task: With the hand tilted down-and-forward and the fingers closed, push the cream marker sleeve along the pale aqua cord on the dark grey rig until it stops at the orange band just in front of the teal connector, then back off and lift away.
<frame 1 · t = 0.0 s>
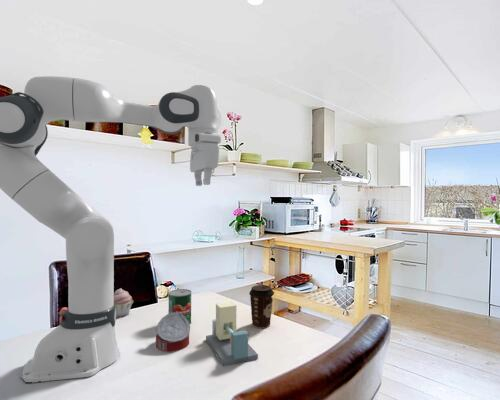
hand: (202, 185, 99), 48 cm above the table, tool pointing down, fingers open, 8 cm apart
canned tomato: (179, 324, 113), on the table
marker sleeve: (226, 320, 98), point 7 cm above the table, slide at 0.0 cm
cupcake: (120, 315, 121), on the table
canned food: (172, 345, 97), on the table
coffee cup: (261, 325, 112), on the table
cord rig: (230, 348, 94), on the table
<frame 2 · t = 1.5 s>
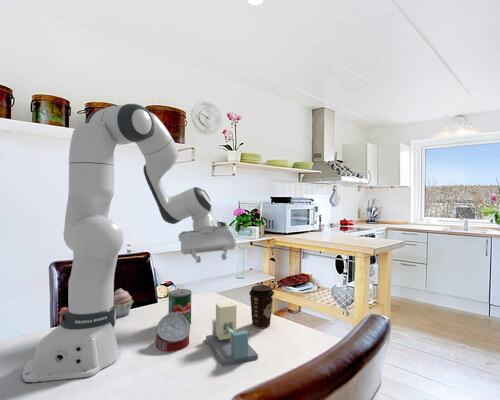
hand: (211, 260, 115), 22 cm above the table, tool tilted 45°, fingers open, 8 cm apart
nothing on the table moved.
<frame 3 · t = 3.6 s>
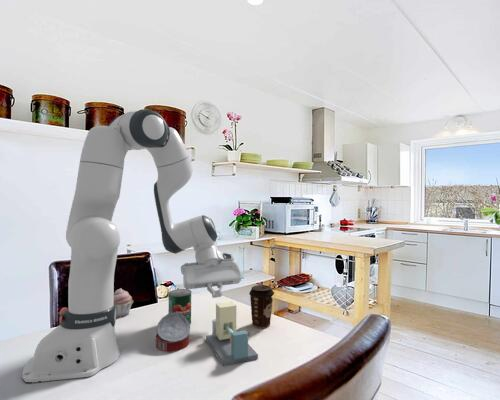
hand: (217, 296, 106), 11 cm above the table, tool tilted 45°, fingers closed
nothing on the table moved.
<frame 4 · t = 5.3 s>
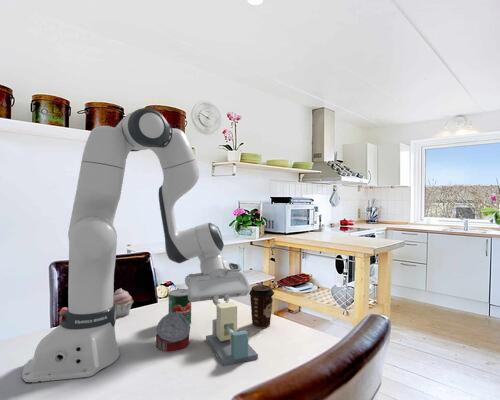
hand: (223, 310, 99), 9 cm above the table, tool tilted 45°, fingers closed, pressing on marker sleeve
marker sleeve: (226, 321, 97), point 7 cm above the table, slide at 0.7 cm, touching gripper
everything else where it was.
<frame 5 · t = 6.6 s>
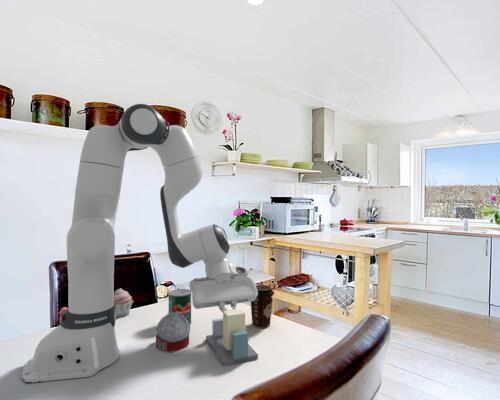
hand: (230, 317, 94), 9 cm above the table, tool tilted 45°, fingers closed, pressing on marker sleeve
marker sleeve: (234, 328, 91), point 7 cm above the table, slide at 7.0 cm, touching gripper
everything else where it was.
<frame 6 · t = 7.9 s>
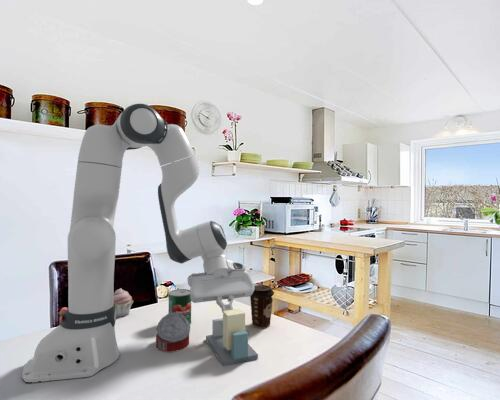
hand: (227, 311, 96), 10 cm above the table, tool tilted 45°, fingers closed
marker sleeve: (233, 328, 91), point 7 cm above the table, slide at 6.9 cm
everything else where it was.
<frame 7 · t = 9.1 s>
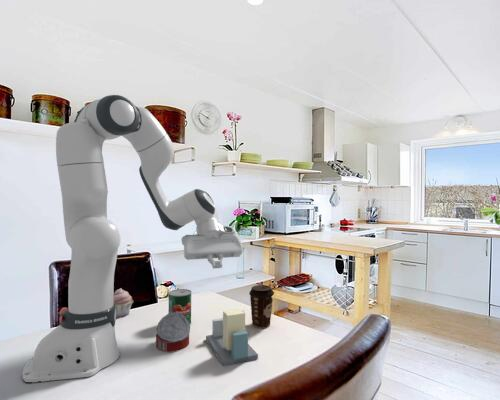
hand: (217, 267, 105), 21 cm above the table, tool tilted 45°, fingers closed
nothing on the table moved.
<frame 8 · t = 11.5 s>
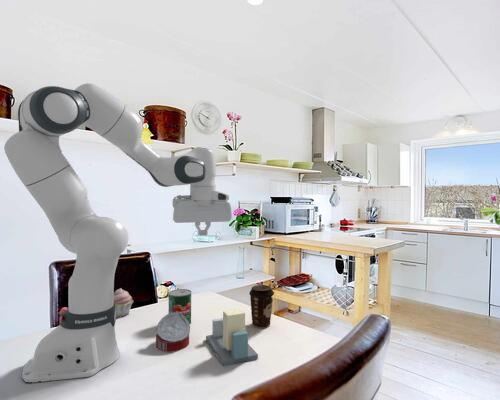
hand: (202, 235, 111), 31 cm above the table, tool pointing down, fingers closed
nothing on the table moved.
at the end: marker sleeve slide at 6.9 cm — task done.
